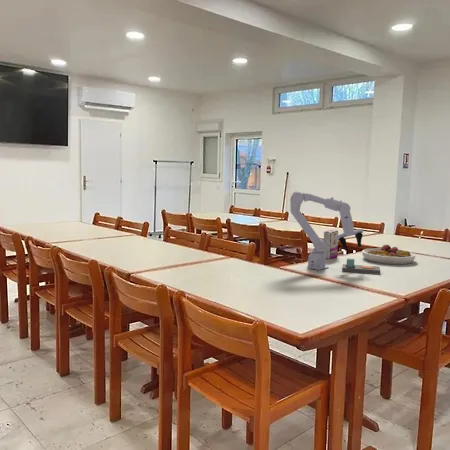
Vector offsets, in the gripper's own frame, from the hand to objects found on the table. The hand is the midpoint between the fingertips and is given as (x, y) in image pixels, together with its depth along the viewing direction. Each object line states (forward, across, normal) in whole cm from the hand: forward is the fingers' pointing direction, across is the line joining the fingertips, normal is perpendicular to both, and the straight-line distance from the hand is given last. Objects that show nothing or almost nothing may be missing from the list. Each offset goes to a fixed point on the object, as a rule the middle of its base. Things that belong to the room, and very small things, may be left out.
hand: (353, 248), depth 243 cm
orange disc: (+11, +4, -5) cm, 12 cm away
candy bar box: (+9, -3, +33) cm, 35 cm away
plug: (+10, -5, -2) cm, 12 cm away
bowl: (+18, +29, +24) cm, 42 cm away
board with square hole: (+12, 0, -4) cm, 12 cm away
